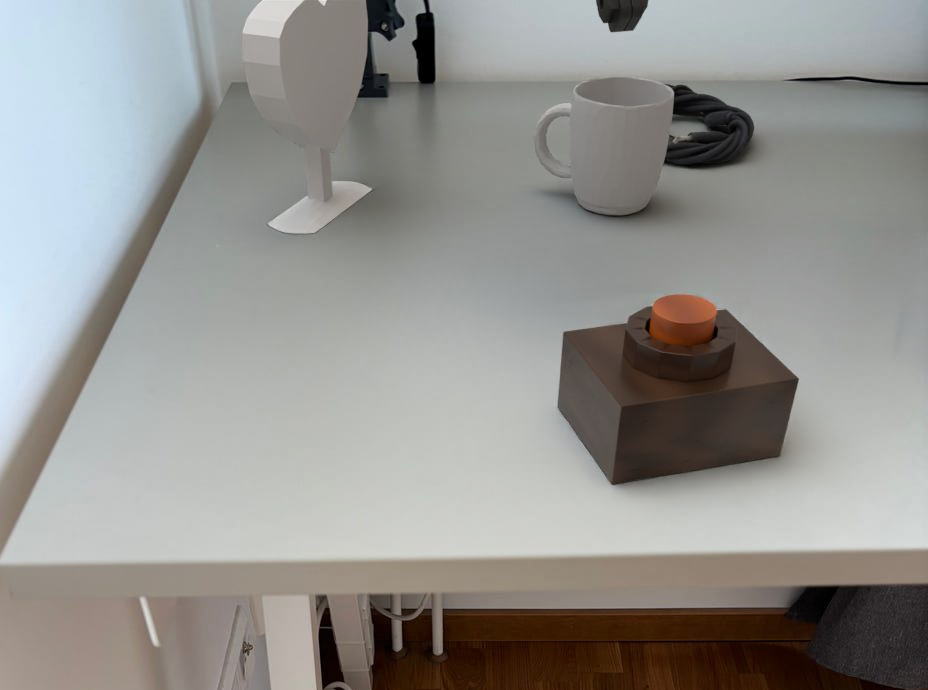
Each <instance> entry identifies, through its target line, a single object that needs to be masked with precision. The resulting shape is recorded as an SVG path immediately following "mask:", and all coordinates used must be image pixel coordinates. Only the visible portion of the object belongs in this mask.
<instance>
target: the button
mask: <svg viewBox="0 0 928 690" xmlns="http://www.w3.org/2000/svg"><path fill="white" fill-rule="evenodd" d="M651 306H652V314H651V321H650V328H649V333H650V335H651V337H652V338H655V339H657V340H660V341H662V342H665V343H667V344H673V345H682V346H693V345H700V344H707V343H708V342H710V341H711V340H712V337H713V332H714V327H715V321H716V315H717V310H718V309H717V307H716V305H715V304H714V303H713V302H711V301H709V300H708V299H706V298H703V297H701V296H698V295H692V294H685V293H682V294H681V293H675V294H668V295H664V296H661V297H659V298H657V299H656V300H655V301H654V302H653V304H652V305H651Z"/></svg>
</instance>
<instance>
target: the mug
mask: <svg viewBox="0 0 928 690" xmlns="http://www.w3.org/2000/svg"><path fill="white" fill-rule="evenodd" d="M665 84H666V83H663V82H661V81H658V80H654V79H650V78H645V77H639V76H631V75H630V76H629V75H606V76H599V77H593V78H590V79H585V80H584V81H581V82H579V83H578V84H576V86H574V89H573V91H572V98H571V102H562V103H559V104H555V105H553V106H552V107H550V108H549V109H547V110H546V111H545V112H543V114H542V115H541V116H540V118H539V119H538V121H537V123H536V126H535V130H534V134H533V135H534V136H533V146H534V151H535V155H536V157H537V159H538V162H539V163H540V164H541V166H542V167H543V168H544V169H545V170H547V171H548V172H549V173H550V174H551V175H553V176H555V177H558V178H562V179H571V182H572V189H573V193H574V196H575V197H576V200H577V203H578V204H579V206H581V207H582V208H584V210H587V211H590V212H593V213H595V214H599V215H600V214H601V215H606V216H627V215H628V216H629V215H631V214H635V213H638V212H640V211H641V210H643V209H644V208H645V207H646V206H648V204H649V202H650V199H651V198H652V197H653V196H654V193H655V190H656V188H657V185H658V183H659V180H660V178H661V174H662V170H663V166H664V162H665V160H666V159H665V156H666V151H667V145H668V140H669V135H671V134H670V133H671V128H672V121H673V103H674V91H673V90H672V88H671V87H669V86H667V85H665ZM560 117H569V138H568V139H569V143H568V146H569V162H570V164H569V165H567V164H564V163H562V162H560V161H559V160H557V159H556V158H555V156H554V155H553V154H552V153H551V152H550V149H549V147H548V143H547V132H548V129H549V126H550V125H551V123H552V122H553V121H554V120H555V119H558V118H560Z"/></svg>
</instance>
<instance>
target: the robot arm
mask: <svg viewBox="0 0 928 690" xmlns="http://www.w3.org/2000/svg"><path fill="white" fill-rule="evenodd" d="M595 4H596V7H597V8H596V9H597V13H598V14H597V15H598V17H599V18H600V20H601V22H602V23H603V24H607V25H608V30H609V32H610V33H622V32H633V31H634V30H635V29H636V27H637V26H638V24H639V23H640V21H641V19H642V17H643V15H644V13H645V11H646V10H647V8H648V6H649V0H595Z"/></svg>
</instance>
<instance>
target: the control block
mask: <svg viewBox="0 0 928 690" xmlns="http://www.w3.org/2000/svg"><path fill="white" fill-rule="evenodd" d="M652 306H653V305H649V306H645V307H643V308H641V309H639V310H637V311H636V312H634V313H632V314H631V315H629V316H628V319H627V322H623V323H617V324H610V325H609V324H608V325H601V326H595V327H588V328H587V327H586V328H580V329H573V330H566V331H563V333H562V345H561V358H560V369H559V380H558V381H559V383H558V396H557V408H558V409H559V411H560V412H561V414H562V415H563V416H564V418H565V419H566V421H567V422H568V424H569V425H570V426H571V428H572V429H573V431H574V432H575V434H576V435H577V436H578V438H579V439H580V441H581V442H582V443H583V445H584V446H585V448H586V449H587V451H588V452H589V454H590V455H591V456H592V458H593V459H594V461H595V462H596V463H597V465H598V467H599V468H600V469H601V471H602V472H603V474H604V475H605V477H606V478H607V479H608V481H609V482H610V484H611V485H617V484H622V483H623V484H624V483H627V482H635V481H639V480H645V479H651V478H657V477H663V476H669V475H674V474H682V473H687V472H692V471H697V470H698V471H699V470H704V469H710V468H715V467H723V466H727V465H735V464H740V463H744V462H745V463H746V462H752V461H757V460H763V459H768V458H774V457H779V456H781V453H782V450H783V447H784V442H785V439H786V434H787V429H788V427H789V426H788V425H789V423H790V422H789V421H790V418H791V414H792V409H793V405H794V401H795V397H796V393H797V388H798V384H799V381H800V378H799V377H798V376H797V375H796V374H794V372H793V371H792V370H791V369H789V368H788V367H787V366H786V365H785V364H784V362H783V361H781V360H780V359H779V358H778V357H777V356H776V355H775V354H774V353H773V352H772V351H771V350H770V349H768V348H767V347H766V345H765V344H763V343H762V341H760V340H759V339H758V337H756V336H755V335H754V334H753V333H752V332H751V331H750V330H749V329H748V328H747V327H746V326H744V324H742V323H741V322H740V320H738V319H737V318H736V317H735V316H734V315H733V314H732V313H731V312H730V311H729V310H727V308H724V309H717V315H716V321H715V327H714V332H713V337H712V340H711V341H710V342H708V343H707V344H700V345H693V346H682V345H673V344H667V343H665V342H662V341H660V340H657V339H655V338H652V337H651V335H650V333H649V328H650V321H651V314H652Z"/></svg>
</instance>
